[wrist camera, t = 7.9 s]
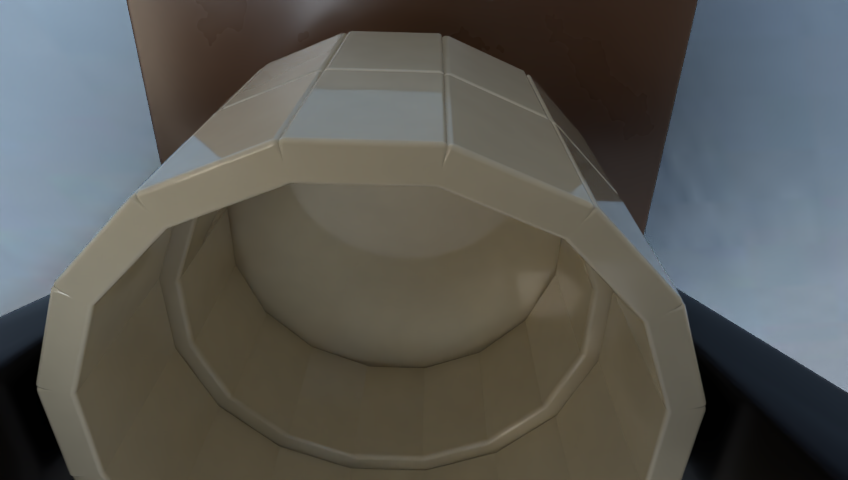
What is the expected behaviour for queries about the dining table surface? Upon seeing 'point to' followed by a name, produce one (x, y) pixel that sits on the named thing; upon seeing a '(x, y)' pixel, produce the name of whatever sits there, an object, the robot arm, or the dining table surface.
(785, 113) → the dining table surface
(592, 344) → the bowl
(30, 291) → the dining table surface
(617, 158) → the riser
